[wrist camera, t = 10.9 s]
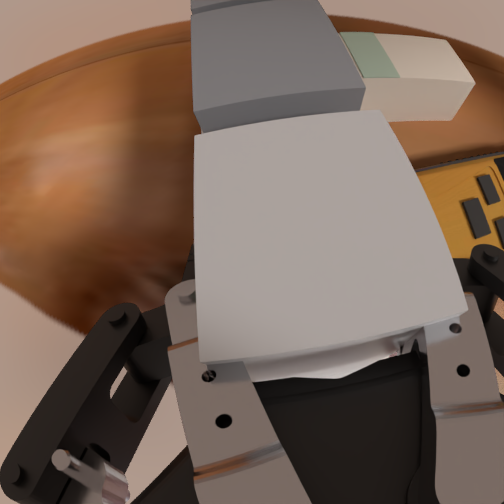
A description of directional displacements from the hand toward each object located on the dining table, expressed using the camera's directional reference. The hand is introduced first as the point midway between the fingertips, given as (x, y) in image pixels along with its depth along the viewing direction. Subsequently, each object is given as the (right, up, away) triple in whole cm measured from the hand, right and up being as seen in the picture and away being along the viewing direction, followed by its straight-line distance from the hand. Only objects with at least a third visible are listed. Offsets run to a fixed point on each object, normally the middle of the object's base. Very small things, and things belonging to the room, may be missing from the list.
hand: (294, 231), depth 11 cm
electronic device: (+15, +1, +6) cm, 16 cm away
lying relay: (+9, +11, +8) cm, 16 cm away
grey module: (+1, -4, +3) cm, 5 cm away
